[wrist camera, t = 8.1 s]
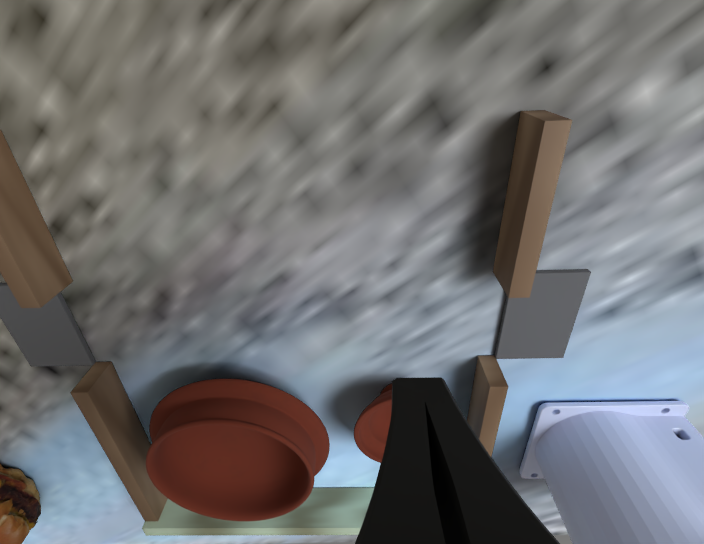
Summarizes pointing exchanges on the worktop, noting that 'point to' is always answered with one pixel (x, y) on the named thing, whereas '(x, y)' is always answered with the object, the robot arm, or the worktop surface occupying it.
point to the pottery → (246, 447)
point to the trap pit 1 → (45, 331)
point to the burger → (17, 505)
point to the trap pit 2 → (542, 316)
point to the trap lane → (323, 503)
